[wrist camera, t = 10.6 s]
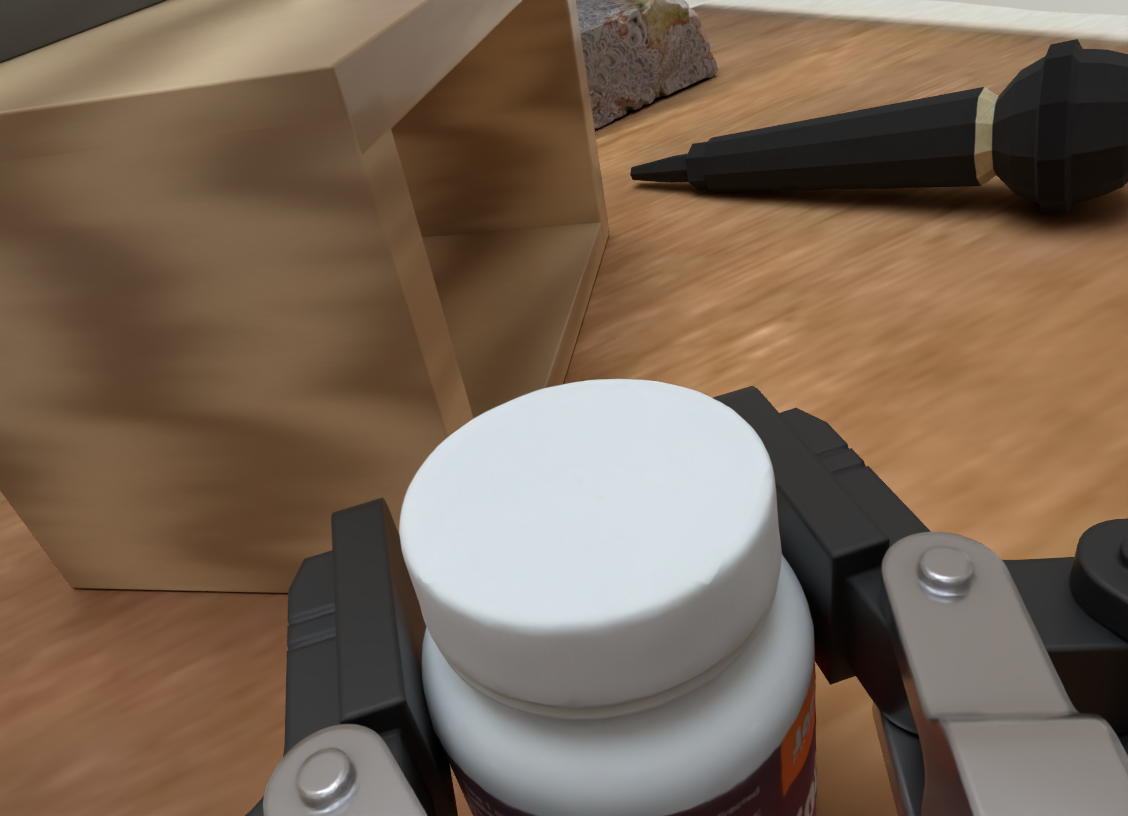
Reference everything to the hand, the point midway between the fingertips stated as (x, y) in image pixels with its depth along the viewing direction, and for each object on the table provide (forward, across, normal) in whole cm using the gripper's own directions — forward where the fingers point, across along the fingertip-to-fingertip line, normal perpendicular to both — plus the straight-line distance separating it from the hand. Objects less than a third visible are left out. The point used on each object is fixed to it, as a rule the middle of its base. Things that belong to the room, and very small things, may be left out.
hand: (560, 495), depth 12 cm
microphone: (+20, +17, -7) cm, 28 cm away
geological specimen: (+43, +11, -6) cm, 45 cm away
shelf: (+16, -3, -6) cm, 18 cm away
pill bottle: (-3, 0, -6) cm, 7 cm away
